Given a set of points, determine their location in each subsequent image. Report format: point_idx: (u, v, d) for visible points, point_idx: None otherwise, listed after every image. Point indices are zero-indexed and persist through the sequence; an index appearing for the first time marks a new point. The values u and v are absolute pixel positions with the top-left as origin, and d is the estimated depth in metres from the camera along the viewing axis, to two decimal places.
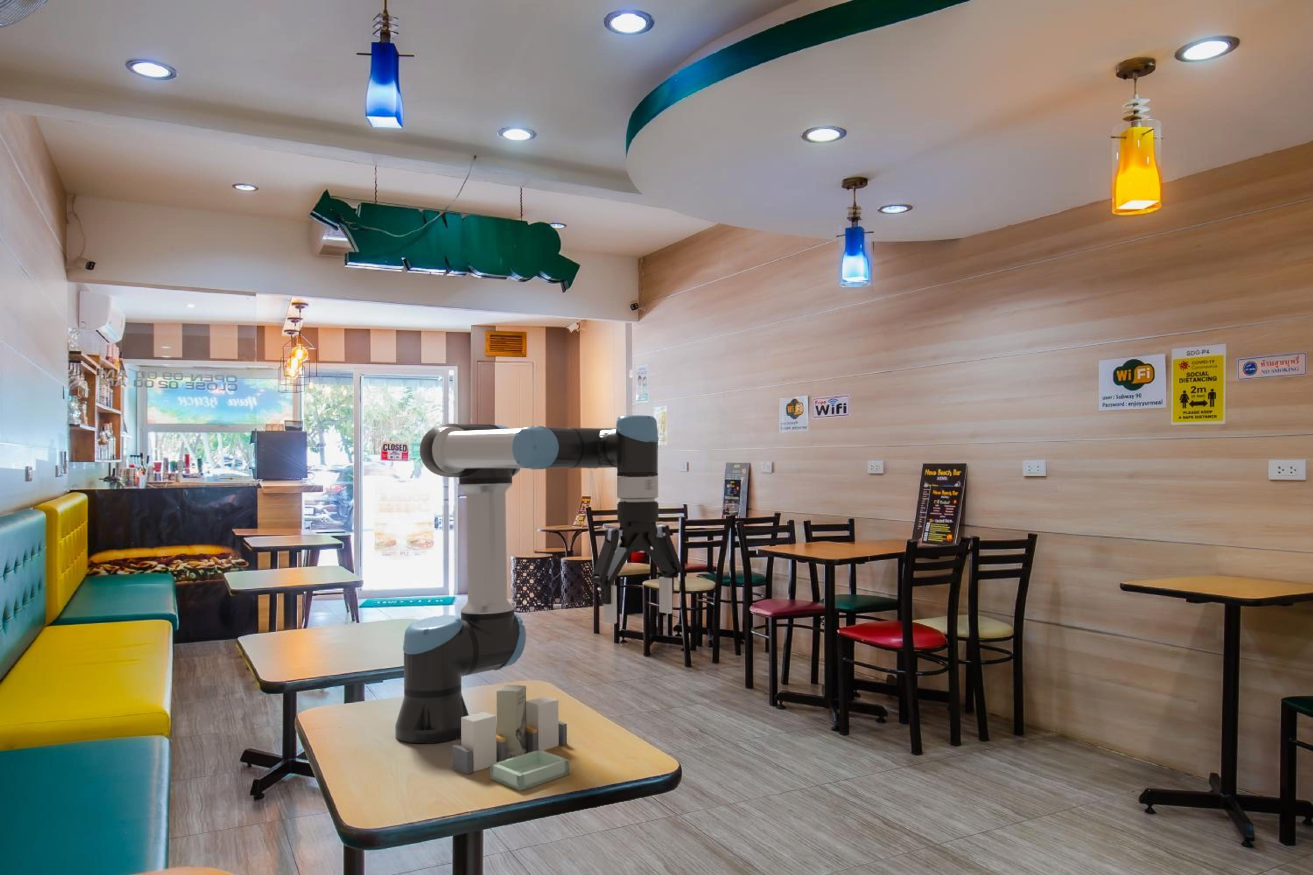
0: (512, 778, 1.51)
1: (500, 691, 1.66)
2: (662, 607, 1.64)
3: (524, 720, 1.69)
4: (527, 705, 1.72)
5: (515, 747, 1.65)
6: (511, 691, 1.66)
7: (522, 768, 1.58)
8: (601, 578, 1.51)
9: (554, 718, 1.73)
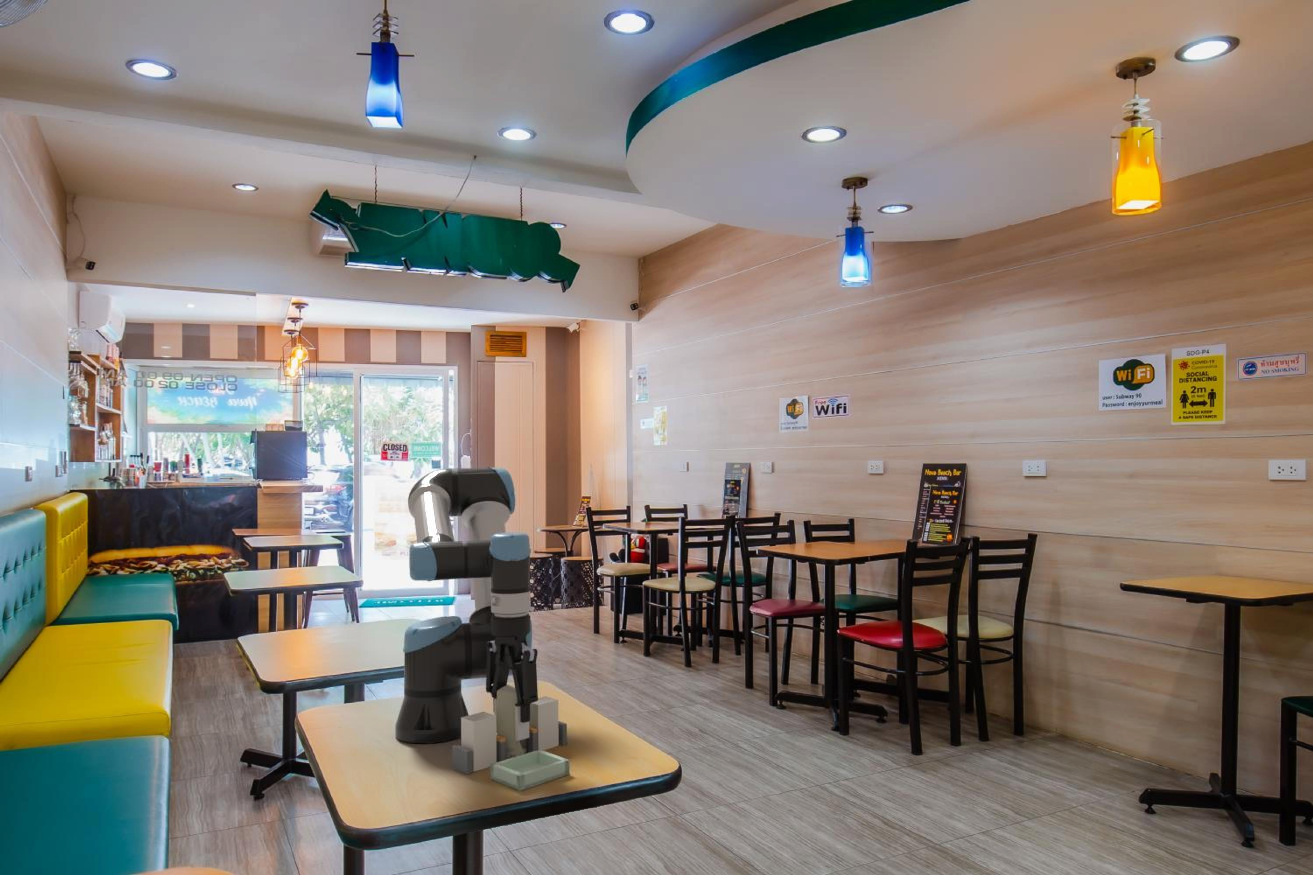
0: (512, 778, 1.51)
1: (500, 691, 1.66)
2: None
3: None
4: None
5: (515, 747, 1.65)
6: (511, 691, 1.66)
7: (522, 768, 1.58)
8: (486, 688, 1.72)
9: (554, 718, 1.73)
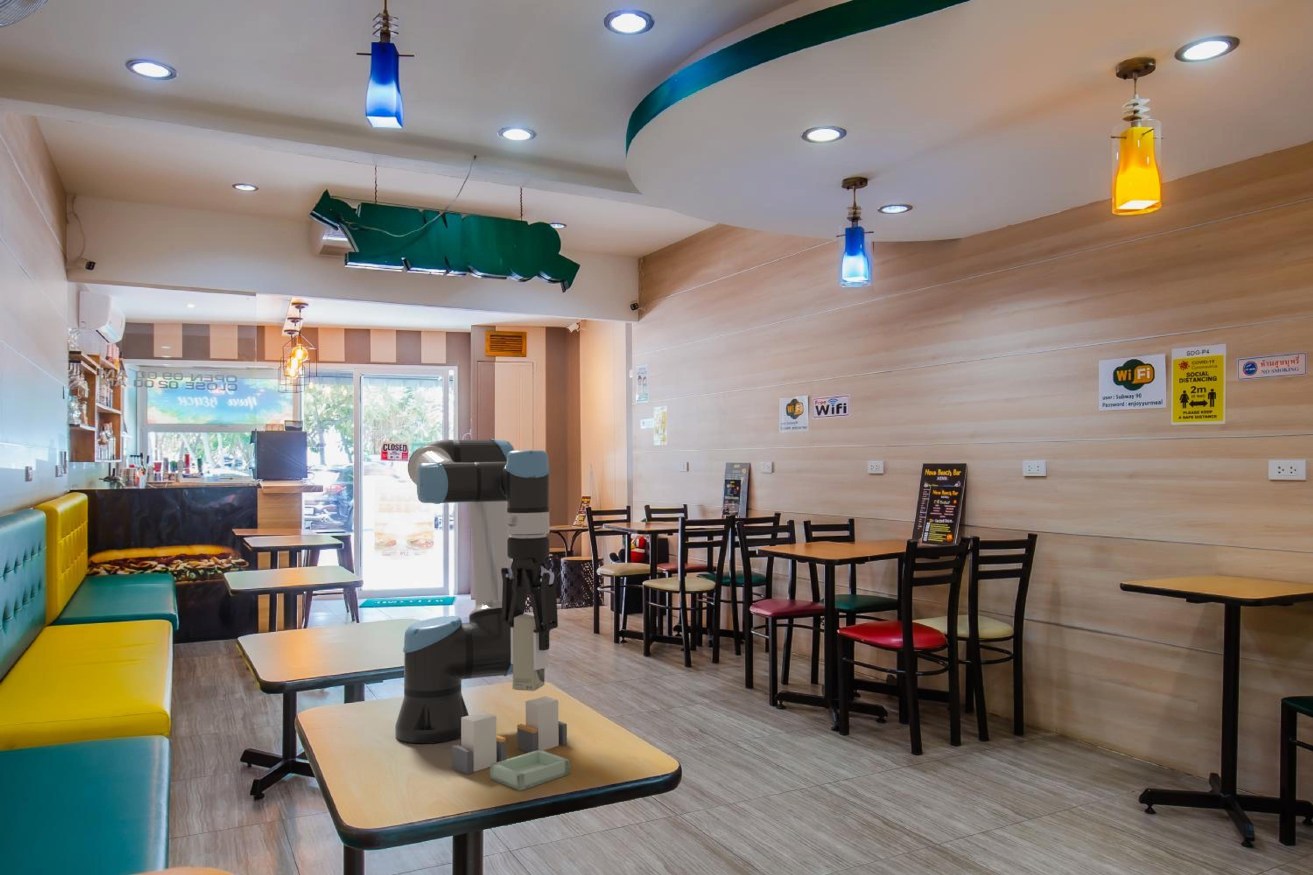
0: (512, 778, 1.51)
1: (518, 618, 1.55)
2: None
3: None
4: (527, 705, 1.72)
5: (532, 678, 1.54)
6: (529, 618, 1.55)
7: (522, 768, 1.58)
8: (502, 617, 1.61)
9: (554, 718, 1.73)
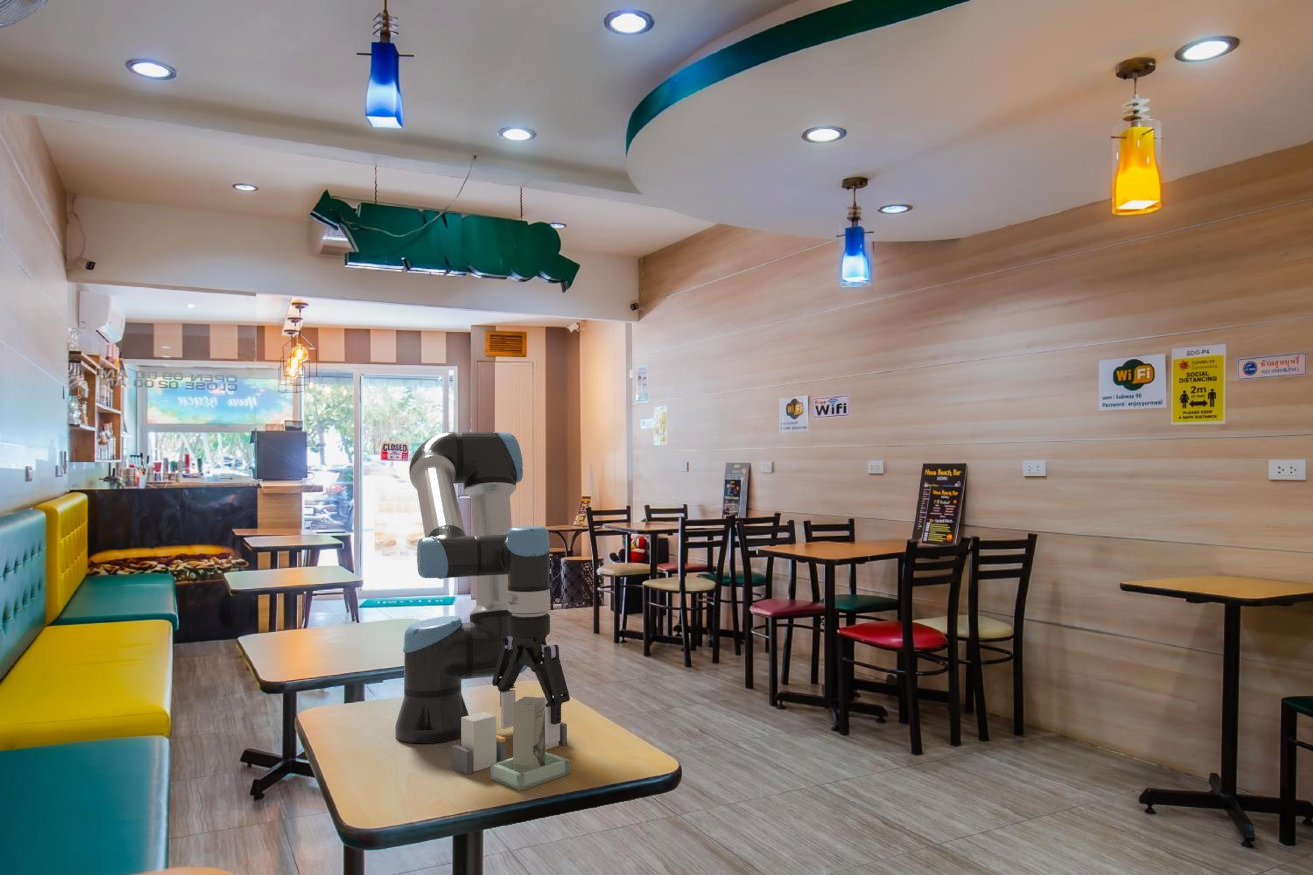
0: (512, 778, 1.51)
1: (517, 704, 1.55)
2: None
3: (542, 735, 1.57)
4: None
5: (532, 765, 1.53)
6: (529, 704, 1.54)
7: None
8: (493, 681, 1.62)
9: None
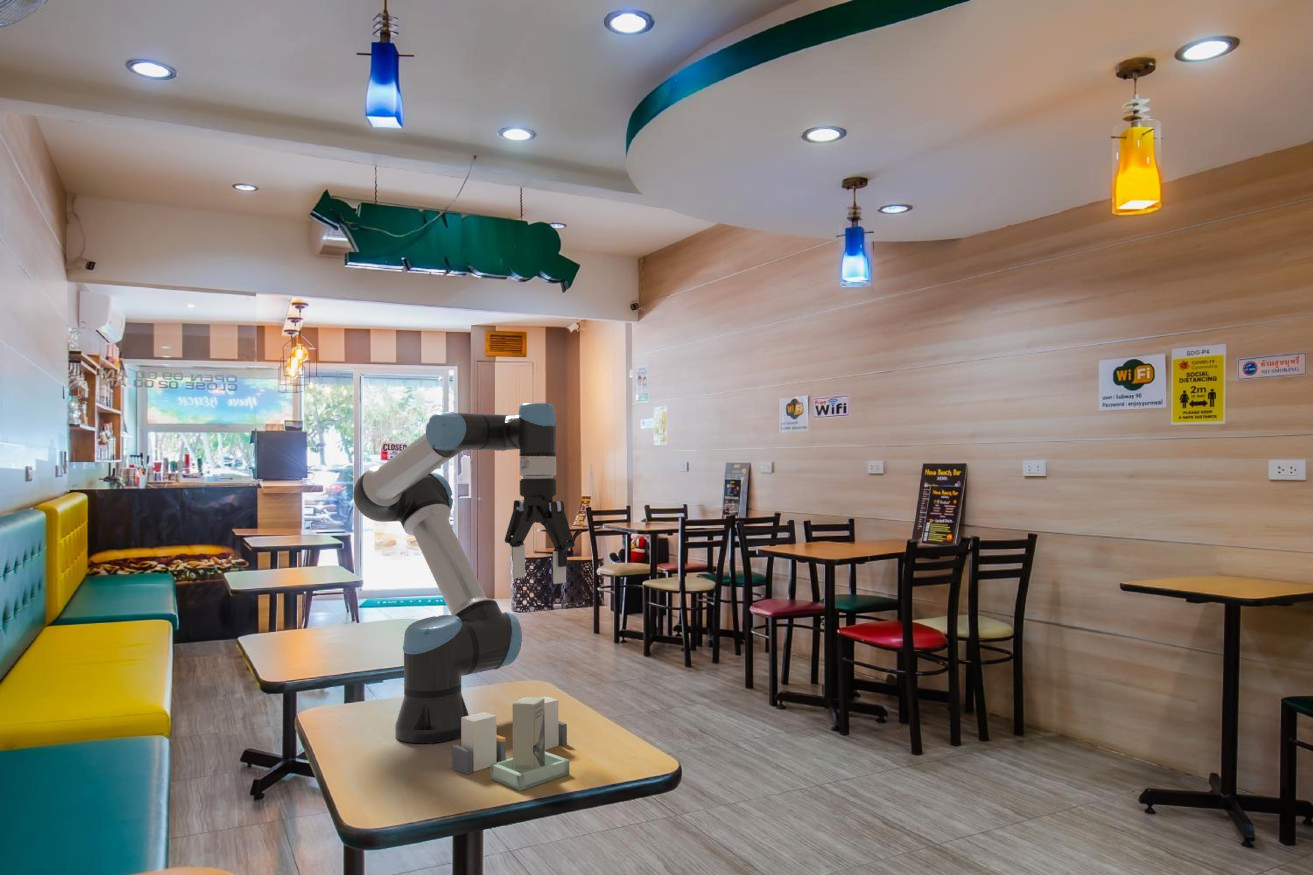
0: (512, 778, 1.51)
1: (516, 704, 1.55)
2: None
3: (542, 735, 1.57)
4: None
5: (532, 765, 1.53)
6: (528, 704, 1.54)
7: None
8: (505, 538, 1.87)
9: (554, 718, 1.73)
